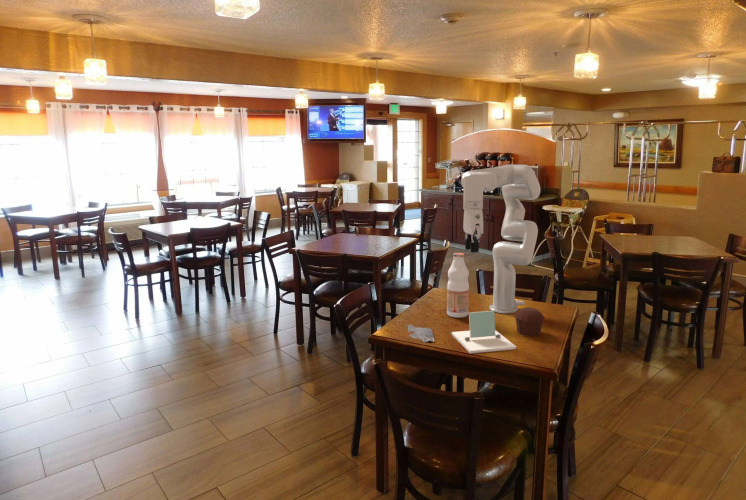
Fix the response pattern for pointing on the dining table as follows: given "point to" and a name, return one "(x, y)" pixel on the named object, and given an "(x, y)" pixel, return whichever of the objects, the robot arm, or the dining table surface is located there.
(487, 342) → the board
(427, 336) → the stone slab
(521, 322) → the muffin
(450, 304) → the fruit juice
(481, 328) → the tile
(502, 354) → the dining table surface
